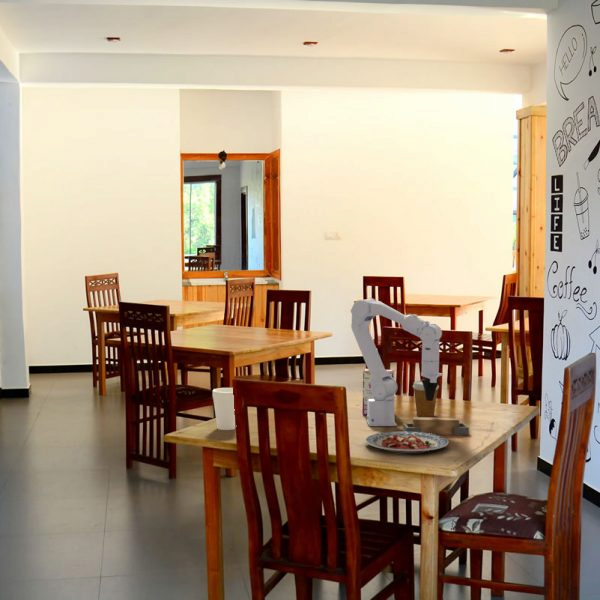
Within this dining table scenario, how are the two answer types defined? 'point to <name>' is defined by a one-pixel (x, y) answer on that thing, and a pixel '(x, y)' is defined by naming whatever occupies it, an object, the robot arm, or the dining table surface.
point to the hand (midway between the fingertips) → (429, 400)
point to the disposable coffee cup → (424, 401)
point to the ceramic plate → (406, 441)
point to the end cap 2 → (461, 429)
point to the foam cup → (224, 408)
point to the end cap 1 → (410, 427)
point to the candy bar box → (369, 388)
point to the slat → (436, 425)
